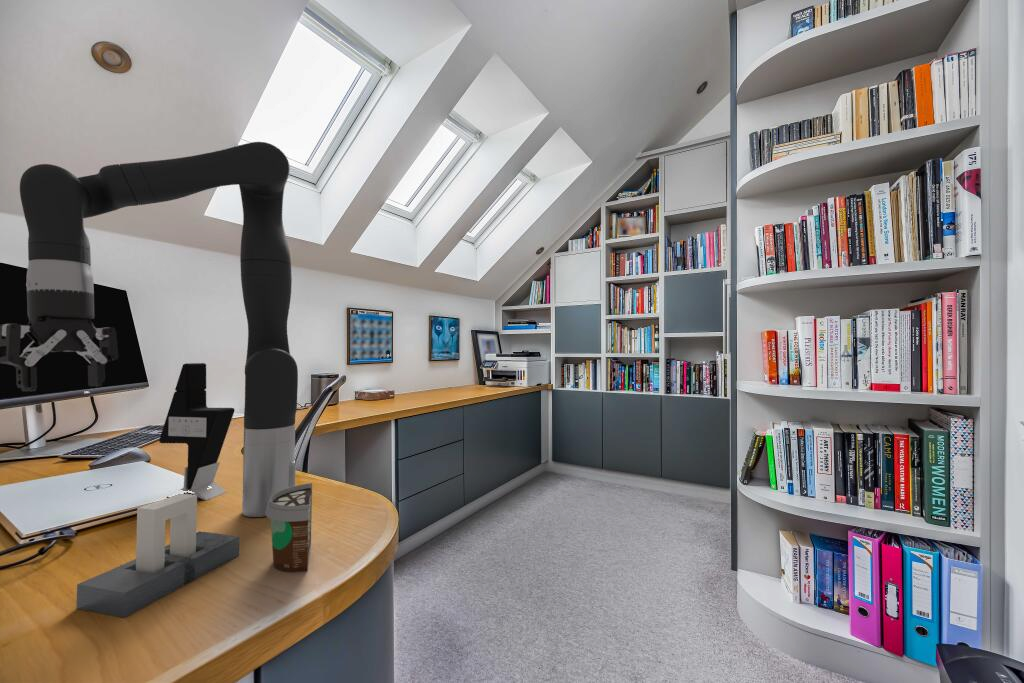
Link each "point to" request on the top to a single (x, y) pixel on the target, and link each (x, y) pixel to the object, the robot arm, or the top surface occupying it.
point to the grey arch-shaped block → (153, 531)
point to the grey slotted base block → (153, 577)
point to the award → (197, 430)
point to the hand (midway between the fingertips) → (64, 388)
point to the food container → (291, 527)
